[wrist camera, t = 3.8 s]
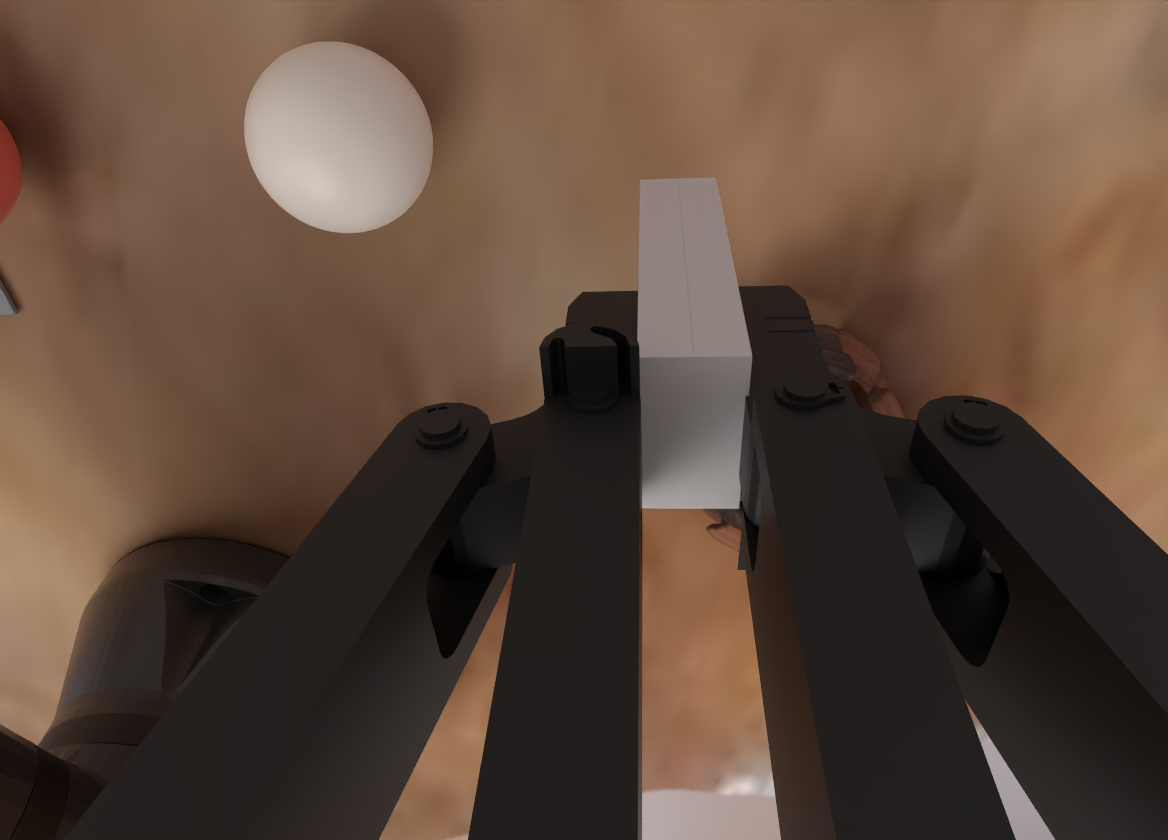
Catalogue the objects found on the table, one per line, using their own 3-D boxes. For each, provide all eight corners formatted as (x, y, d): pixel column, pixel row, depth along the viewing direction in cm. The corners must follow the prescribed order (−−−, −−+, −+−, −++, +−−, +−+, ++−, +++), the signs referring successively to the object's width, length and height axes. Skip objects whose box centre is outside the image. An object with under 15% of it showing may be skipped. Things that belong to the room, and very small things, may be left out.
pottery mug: (620, 461, 35) (621, 499, 27) (733, 281, 34) (770, 263, 26) (845, 599, 35) (913, 678, 27) (965, 424, 34) (1073, 451, 26)
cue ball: (481, 141, 26) (451, 201, 22) (362, 223, 28) (312, 293, 24) (371, -14, 24) (311, 19, 19) (248, 88, 26) (169, 140, 21)
